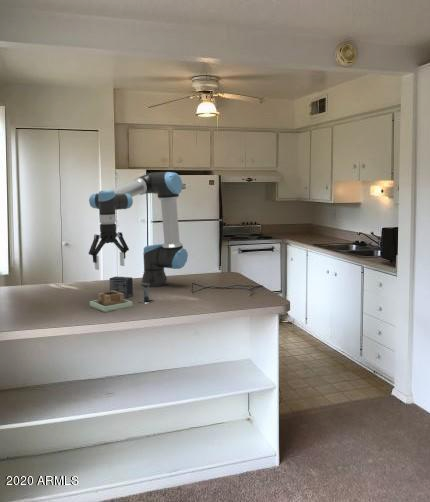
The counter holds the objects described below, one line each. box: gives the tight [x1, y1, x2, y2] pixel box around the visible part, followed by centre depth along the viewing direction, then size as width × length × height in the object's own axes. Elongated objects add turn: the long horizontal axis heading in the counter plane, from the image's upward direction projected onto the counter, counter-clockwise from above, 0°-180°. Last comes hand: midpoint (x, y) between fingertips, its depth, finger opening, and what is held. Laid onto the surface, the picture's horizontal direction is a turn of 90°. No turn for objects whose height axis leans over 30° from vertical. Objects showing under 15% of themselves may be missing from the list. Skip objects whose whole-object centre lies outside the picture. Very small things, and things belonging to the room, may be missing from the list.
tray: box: [89, 298, 134, 313], centre depth 249 cm, size 15×15×2 cm
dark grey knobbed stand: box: [138, 283, 155, 305], centre depth 255 cm, size 8×8×10 cm
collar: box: [97, 290, 125, 306], centre depth 248 cm, size 9×9×6 cm
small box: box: [109, 276, 134, 299], centre depth 268 cm, size 11×6×10 cm, turn 71°
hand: (109, 267), depth 246 cm, fingers open, 13 cm apart
